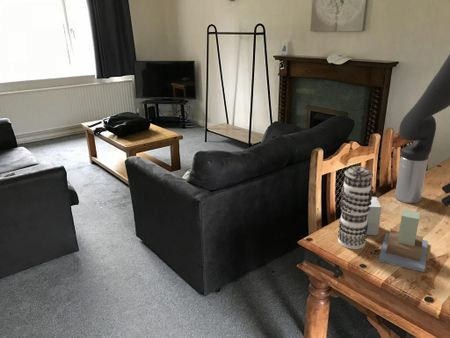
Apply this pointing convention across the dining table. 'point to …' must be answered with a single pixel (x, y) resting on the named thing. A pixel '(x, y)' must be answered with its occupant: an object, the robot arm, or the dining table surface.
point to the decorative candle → (355, 207)
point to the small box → (373, 217)
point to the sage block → (408, 227)
